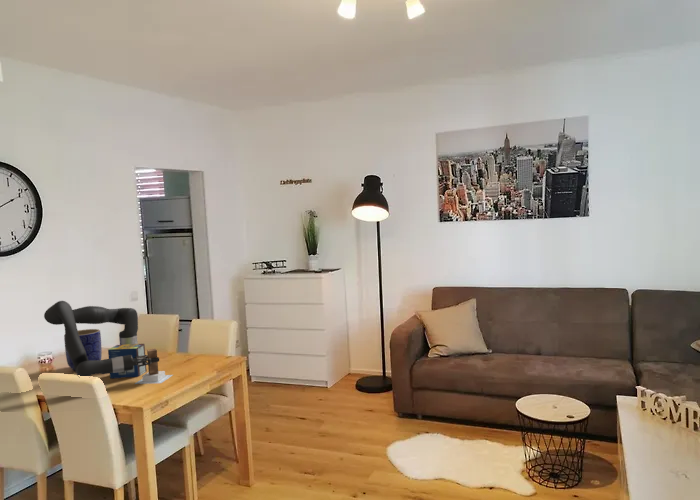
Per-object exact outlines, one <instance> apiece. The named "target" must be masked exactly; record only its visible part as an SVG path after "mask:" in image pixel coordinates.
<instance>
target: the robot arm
mask: <svg viewBox="0 0 700 500" xmlns="http://www.w3.org/2000/svg"><path fill="white" fill-rule="evenodd" d="M43 318H44V320H45V321H46V322H48V323H49V324H51V325H56V326H57V325H58V326H59V325H63V326H64V335H65V341H64V347H65V346H66V349H67V351H68V354H69V356H70V358H71V360H72V362H73V365H74V368H75V370H74V371H75V374H76V373H77V374H76V375H77V376H78V375H80V376H90V377H91V376H92V375H97V374H100V375H106V374H109V375H110V373H117V372H123V371H129V370H133V366H134V365H137V366H138V367H140V366H145V365H146V366H148V365H150V364H151V363H153V362H158V363H159V362H160V357H159V356H157V357H155V358H148V356H147V354H145V355H142V356H135V358H132V355H126V356H120V357H115V358H111V359H109V358H105V359H101V360H91V361H89V360H88V358H87V356H86V351H85V349H84V346H83V344H82V342H81V340H80V337H79V334H78V327H77V324H88V325H89V324H90V325H98V324H99V325H100V324H105V323H106V324H107V323H110V324H118V325H123V326H124V327H123V328H124V329H123V330H121V331H120V332H119V333H118V335H119V345H127V344H139V343H138V342H139V341H138V330H139V316H138V312H137V310H136V309H135V308H131V307H122V308H121V307H120V308H119V307H118V308H107V307H104V306H103V307H102V306H98V305H96V306H95V305H94V306H93V305H87V306H83V307H78V308H75V309H73V308H72V306H71V305H70V303H69V302H67V301H66V300H59V301H56V302H55V303H54V304H52V305H51V306H49V307H48V308H47V309H46V311H45V312H44V314H43Z"/></svg>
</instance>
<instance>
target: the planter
mask: <svg viewBox="0 0 700 500" xmlns="http://www.w3.org/2000/svg"><path fill="white" fill-rule="evenodd" d="M77 330H78V329H77ZM78 334H79V337H80V340H81V342H82V344H83V346H84V349H85V351H86V356H87V357H88V356H89V357H88V360H89V361H90V360H102V353H103V351H102V349H103V347H102V336H101V335H102V334H101V330H100V329H98V328H89V329H88V328H87V329H86V328H85V329H79V330H78ZM63 338H64V339H63V342H65V334H64V336H63ZM64 351H65V359H66V363H67V365H68V366H69V368H70V369H71V370H72V371H75V368H74V365H73V362H72V360H71V358H70V356H69V354H68V351H67V349H66V346H65V345H64Z"/></svg>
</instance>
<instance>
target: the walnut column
mask: <svg viewBox="0 0 700 500" xmlns="http://www.w3.org/2000/svg"><path fill="white" fill-rule="evenodd" d="M157 350H158V349H156V348H152V349H147V350H146V355H147V356H148V358H155V357H158V351H157ZM158 364H159V362H153V363H151V364H150V365H147V368H148V369H147V370H148V372H149V374H150V375H153V374H158V371H159V365H158Z"/></svg>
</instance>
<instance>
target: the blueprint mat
mask: <svg viewBox="0 0 700 500" xmlns="http://www.w3.org/2000/svg"><path fill="white" fill-rule="evenodd" d="M172 376H174V374H165V377H164V378H163V379H161V380H160V381H157V382H143V378H141V379H140V380H138V381H136V382H135V383H134V385H143V384H144V385H148V384H152V385H153V384H163V383H164V382H165V381H167V380H168V379H170V378H171V377H172Z"/></svg>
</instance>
